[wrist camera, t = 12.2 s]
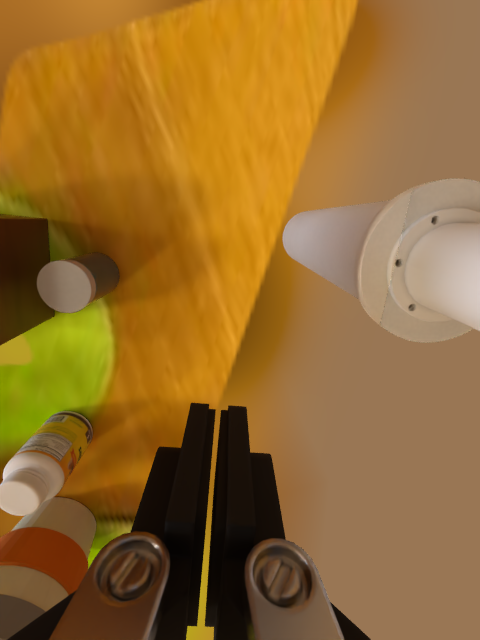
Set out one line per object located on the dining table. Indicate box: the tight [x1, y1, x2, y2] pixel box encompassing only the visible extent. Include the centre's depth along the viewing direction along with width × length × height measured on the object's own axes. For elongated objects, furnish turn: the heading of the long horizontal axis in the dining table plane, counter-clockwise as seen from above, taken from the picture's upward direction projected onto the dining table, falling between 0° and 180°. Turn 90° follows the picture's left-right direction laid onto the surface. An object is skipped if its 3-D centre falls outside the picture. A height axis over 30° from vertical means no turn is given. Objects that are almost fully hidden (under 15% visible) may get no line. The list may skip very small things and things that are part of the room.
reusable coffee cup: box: [0, 497, 96, 640], centre depth 35 cm, size 13×13×15 cm
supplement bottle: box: [0, 411, 93, 516], centre depth 33 cm, size 6×6×10 cm
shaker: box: [37, 252, 119, 313], centre depth 30 cm, size 8×4×8 cm
